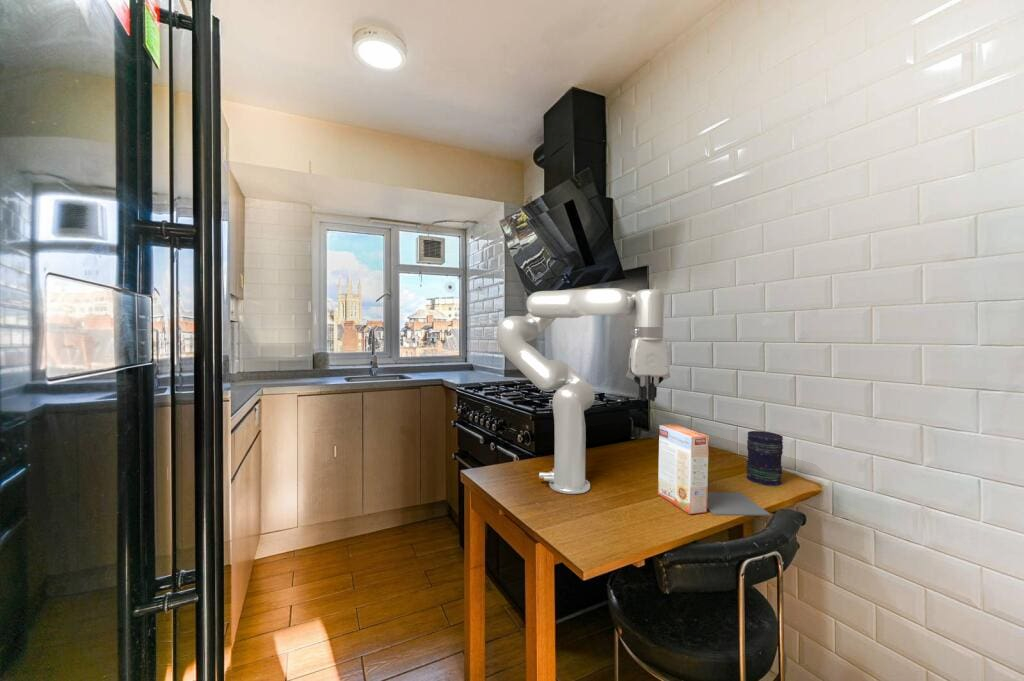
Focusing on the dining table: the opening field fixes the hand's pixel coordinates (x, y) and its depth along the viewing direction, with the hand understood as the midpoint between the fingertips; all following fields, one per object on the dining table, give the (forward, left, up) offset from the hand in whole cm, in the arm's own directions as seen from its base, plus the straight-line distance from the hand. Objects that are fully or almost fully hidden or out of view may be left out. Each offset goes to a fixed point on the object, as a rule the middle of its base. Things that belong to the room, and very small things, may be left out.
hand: (647, 399), depth 112 cm
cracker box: (+10, 0, -29) cm, 31 cm away
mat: (+23, 0, -29) cm, 37 cm away
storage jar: (+44, +18, -29) cm, 56 cm away
